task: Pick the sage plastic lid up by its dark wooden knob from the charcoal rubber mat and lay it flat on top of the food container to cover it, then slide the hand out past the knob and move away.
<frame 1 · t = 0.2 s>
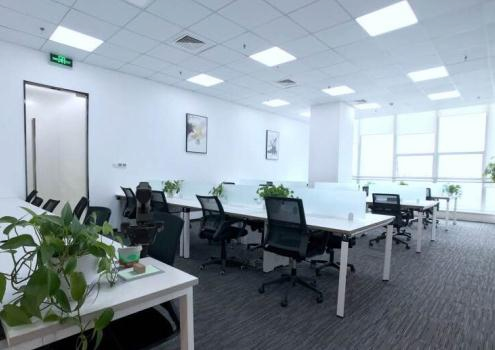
hand: (141, 244, 126), 15 cm above the table, tool tilted 30°, fingers open, 9 cm apart
food container: (131, 267, 138), on the table
mat: (139, 274, 129), on the table
lid: (139, 273, 129), resting on mat
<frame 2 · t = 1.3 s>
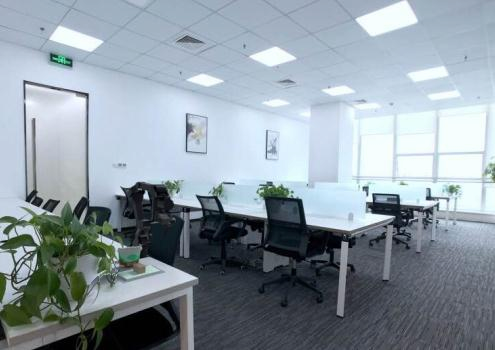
hand: (156, 238, 144), 13 cm above the table, tool pointing down, fingers open, 9 cm apart
nothing on the table moved.
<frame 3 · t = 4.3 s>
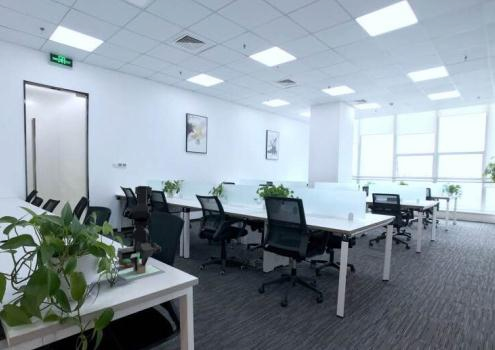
hand: (139, 270, 129), 2 cm above the table, tool pointing down, fingers closed on lid, 3 cm apart
lid: (139, 273, 129), resting on mat, touching gripper
everything else where it was.
when the fingers open (12 cm above the table, at t = 7.2 s): lid drops 1 cm, resting on food container.
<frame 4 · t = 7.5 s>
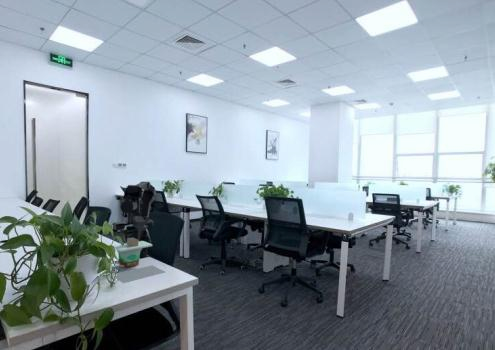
hand: (132, 241, 138), 12 cm above the table, tool pointing down, fingers open, 6 cm apart
food container: (131, 267, 138), on the table, touching lid
lid: (132, 246, 138), point 10 cm above the table, touching food container
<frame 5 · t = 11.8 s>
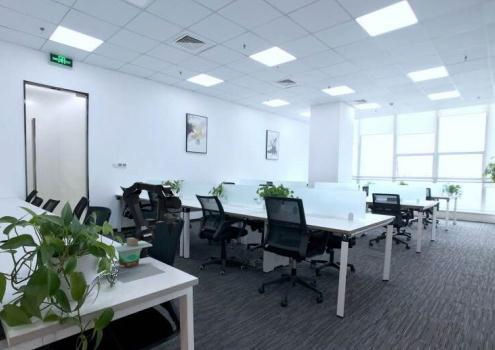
hand: (162, 237, 148), 13 cm above the table, tool pointing down, fingers open, 9 cm apart
nothing on the table moved.
at the end: lid 0.3 cm off-centre on the food container, point 10.2 cm above the food container's base; lid touching food container; lid tilted 0° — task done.
